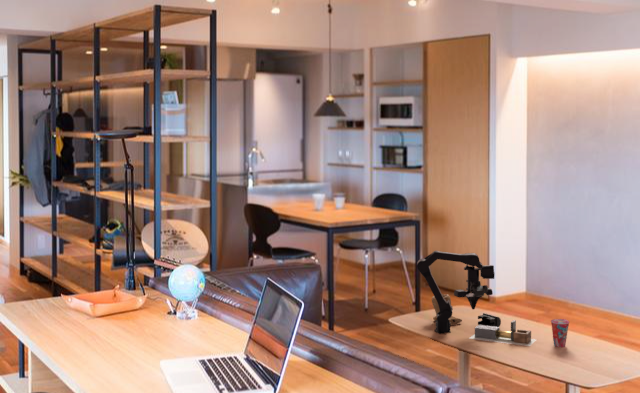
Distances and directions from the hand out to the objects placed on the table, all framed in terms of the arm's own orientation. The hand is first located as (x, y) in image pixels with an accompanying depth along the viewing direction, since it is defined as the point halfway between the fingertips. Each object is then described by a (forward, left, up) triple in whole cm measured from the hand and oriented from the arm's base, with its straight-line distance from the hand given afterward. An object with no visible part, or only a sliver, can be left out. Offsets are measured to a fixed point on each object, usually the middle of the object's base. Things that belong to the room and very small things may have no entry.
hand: (473, 309), depth 403 cm
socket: (+15, -23, -12) cm, 29 cm away
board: (+8, -16, -12) cm, 21 cm away
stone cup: (-5, +23, -12) cm, 27 cm away
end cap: (+12, +6, -12) cm, 18 cm away
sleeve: (+2, -10, -12) cm, 16 cm away
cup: (+28, -34, -12) cm, 46 cm away
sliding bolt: (+10, -18, -11) cm, 23 cm away
